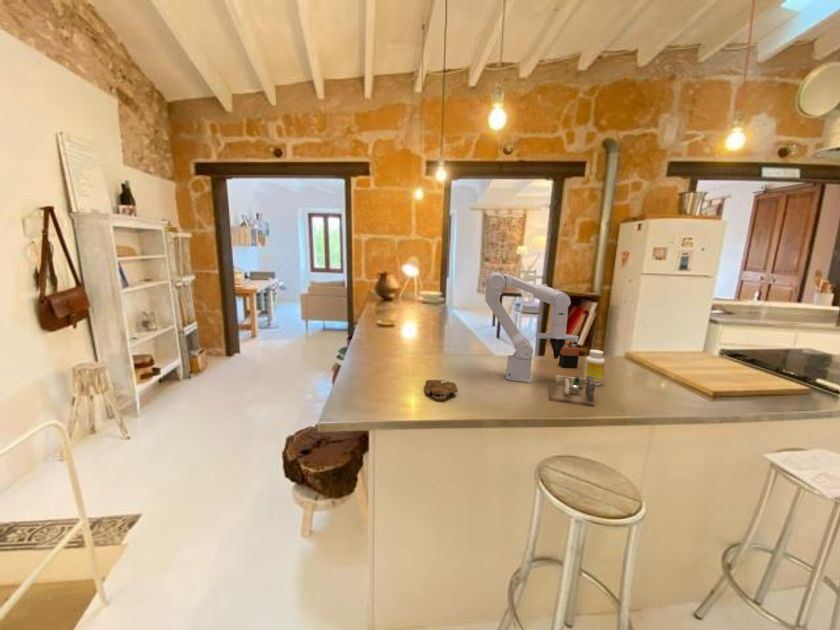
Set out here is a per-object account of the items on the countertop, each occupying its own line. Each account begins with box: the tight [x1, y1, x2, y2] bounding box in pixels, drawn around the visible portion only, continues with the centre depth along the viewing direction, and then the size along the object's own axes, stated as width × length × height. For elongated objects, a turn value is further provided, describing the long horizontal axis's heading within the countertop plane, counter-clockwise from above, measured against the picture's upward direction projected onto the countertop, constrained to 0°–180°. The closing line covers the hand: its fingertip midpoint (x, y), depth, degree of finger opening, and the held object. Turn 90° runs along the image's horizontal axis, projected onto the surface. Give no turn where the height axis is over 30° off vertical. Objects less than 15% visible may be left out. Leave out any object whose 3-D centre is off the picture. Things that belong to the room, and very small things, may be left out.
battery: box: [558, 343, 580, 369], centre depth 166 cm, size 4×7×10 cm, turn 93°
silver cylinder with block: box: [564, 376, 582, 395], centre depth 134 cm, size 6×10×4 cm, turn 162°
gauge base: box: [548, 375, 596, 407], centre depth 134 cm, size 14×15×7 cm
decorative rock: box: [424, 379, 458, 401], centre depth 132 cm, size 11×4×15 cm
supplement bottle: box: [583, 349, 606, 386], centre depth 146 cm, size 7×7×13 cm
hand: (555, 358), depth 146 cm, fingers closed
